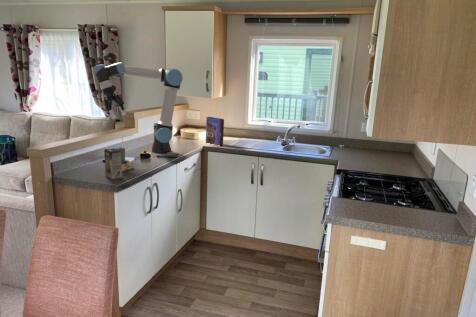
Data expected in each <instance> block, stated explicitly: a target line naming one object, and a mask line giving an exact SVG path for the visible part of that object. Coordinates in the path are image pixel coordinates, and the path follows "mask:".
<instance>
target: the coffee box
mask: <svg viewBox="0 0 476 317" xmlns="http://www.w3.org/2000/svg"><path fill="white" fill-rule="evenodd" d="M103 151H104V169H105V171H104V172H105V173H104V174H105V177H108V178H110V179H111V180H114V179H119V178H123V175H122V173H123V171H122V166H121V151H119V150H117V149H116V148H114V147H113V148H105V149H104V150H103Z"/></svg>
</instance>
